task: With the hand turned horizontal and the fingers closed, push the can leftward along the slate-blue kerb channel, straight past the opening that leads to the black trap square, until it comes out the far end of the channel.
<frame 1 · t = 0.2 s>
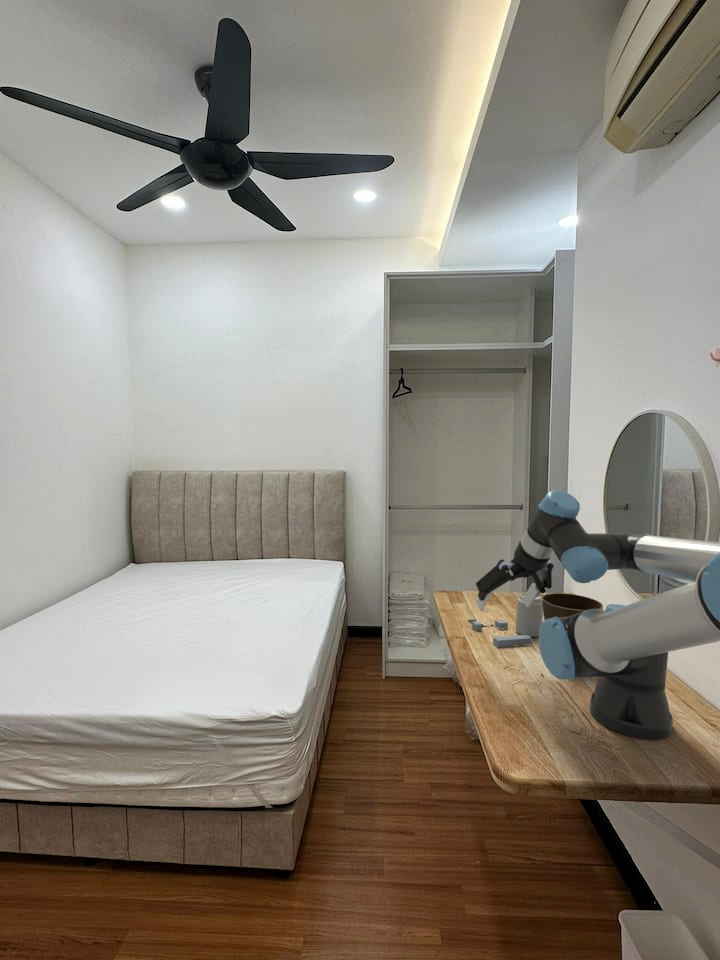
hand: (502, 604, 125), 16 cm above the table, tool tilted 35°, fingers open, 13 cm apart
trap square: (480, 623, 156), on the table
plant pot: (567, 660, 130), on the table
can: (528, 634, 148), on the table
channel: (500, 636, 145), on the table
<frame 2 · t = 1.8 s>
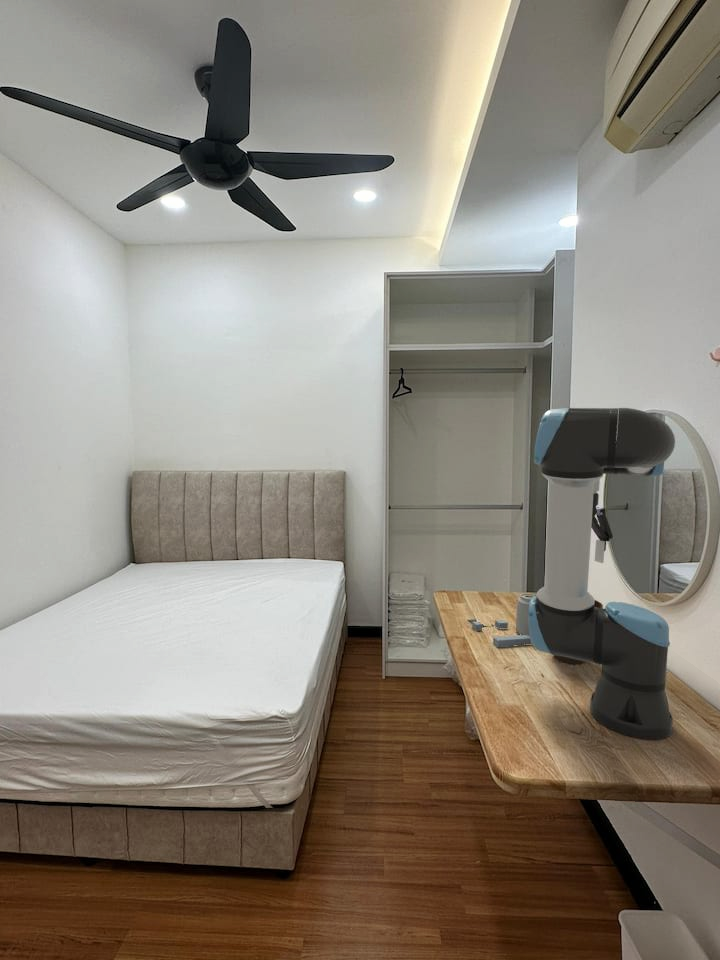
hand: (580, 562, 144), 23 cm above the table, tool pointing down, fingers open, 13 cm apart
nothing on the table moved.
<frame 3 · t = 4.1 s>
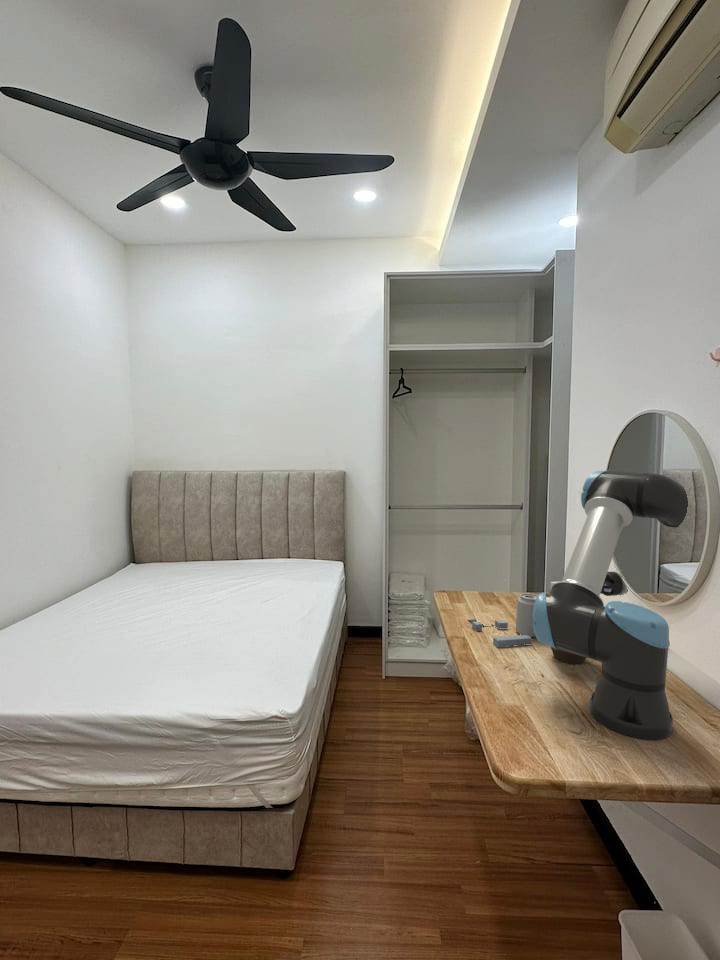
hand: (551, 586, 149), 14 cm above the table, tool horizontal, fingers closed
nothing on the table moved.
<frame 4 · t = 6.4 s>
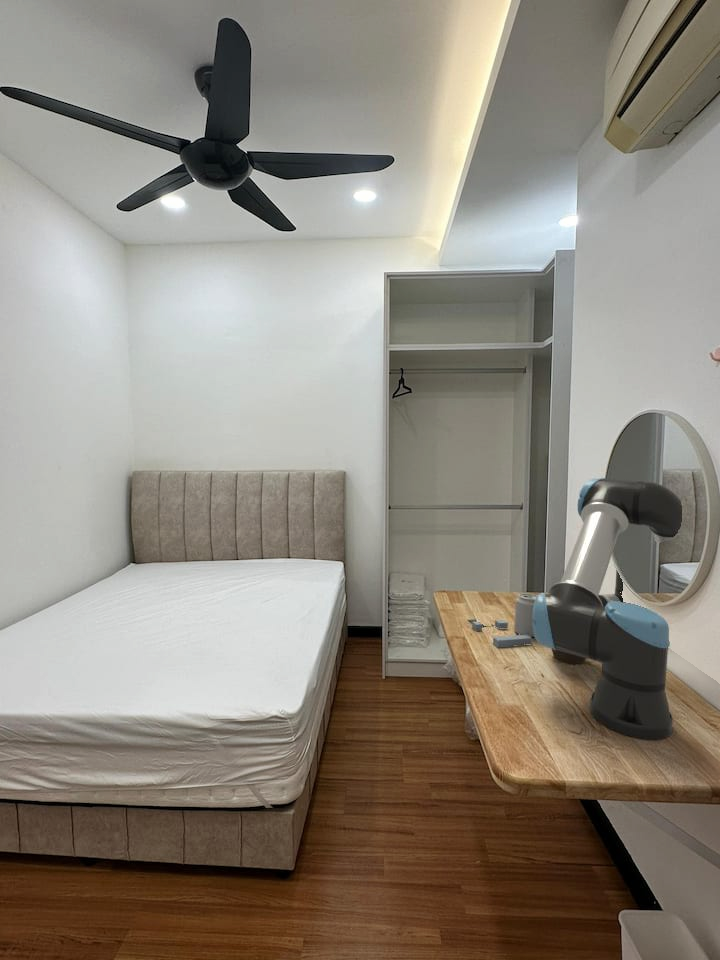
hand: (537, 610, 149), 7 cm above the table, tool horizontal, fingers closed
can: (526, 634, 148), on the table, touching gripper
everything else where it was.
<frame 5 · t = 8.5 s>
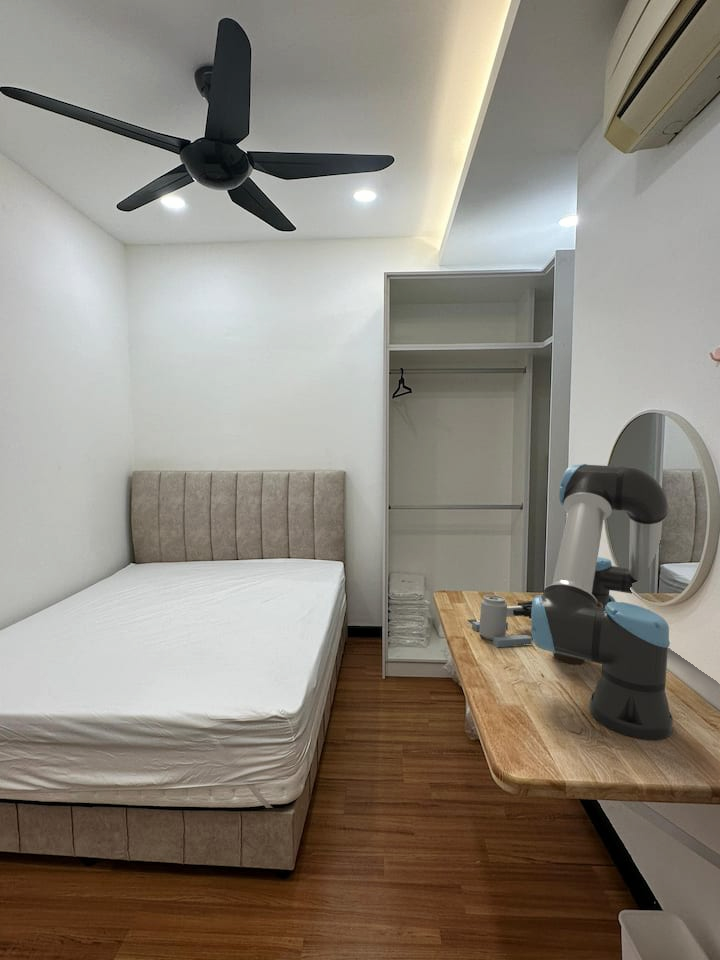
hand: (502, 611, 147), 7 cm above the table, tool horizontal, fingers closed
can: (492, 637, 145), on the table, touching gripper
everything else where it was.
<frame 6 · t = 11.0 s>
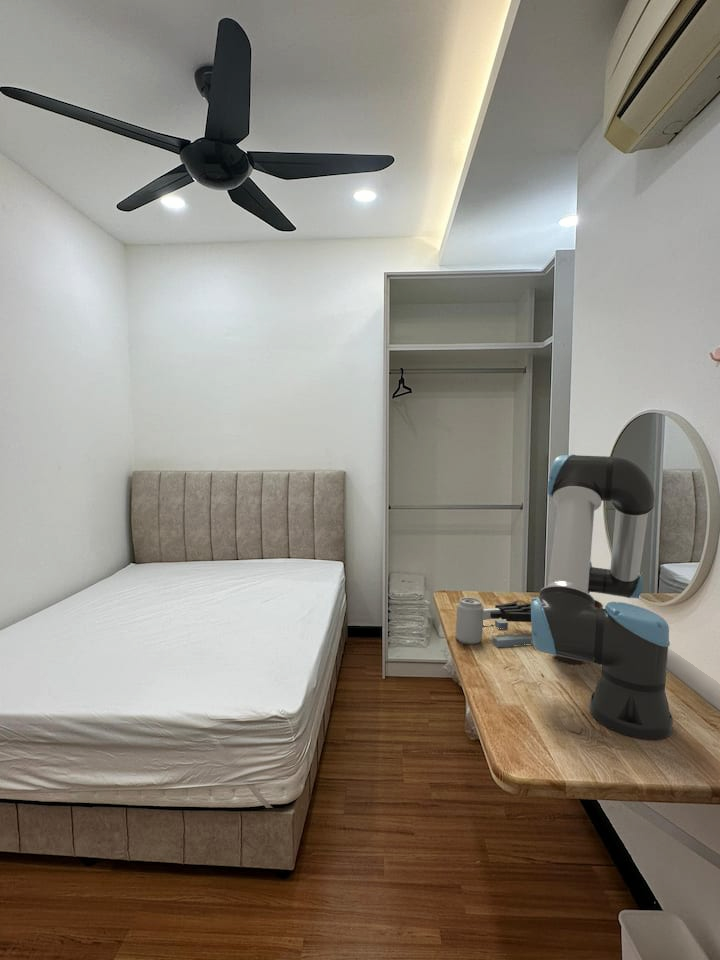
hand: (479, 614, 143), 7 cm above the table, tool horizontal, fingers closed
can: (468, 641, 141), on the table, touching gripper
everything else where it was.
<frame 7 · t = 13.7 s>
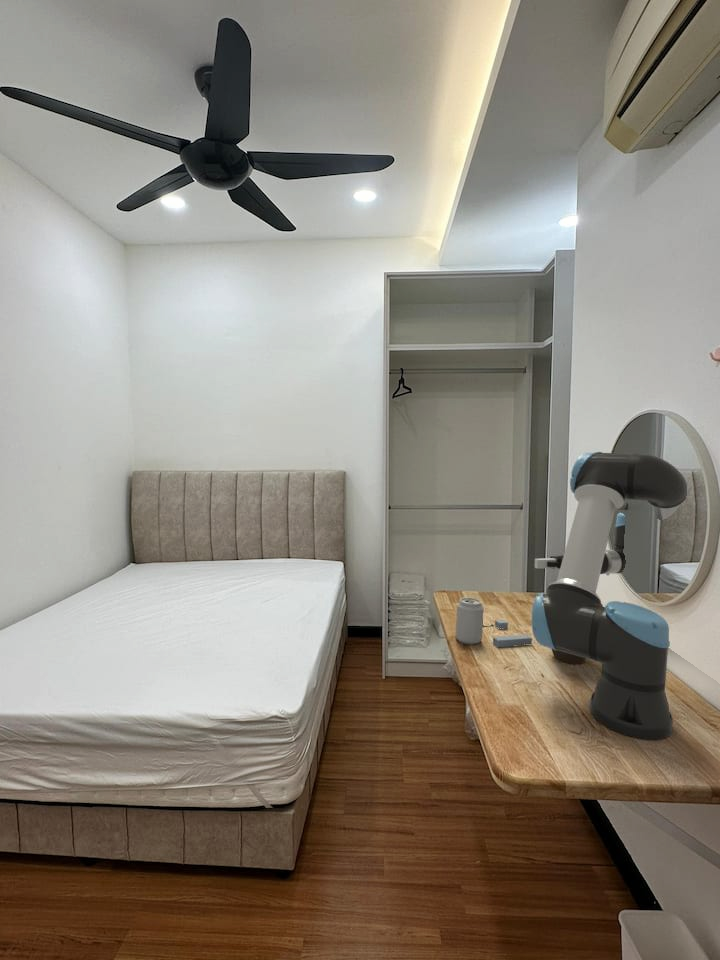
hand: (536, 563, 147), 22 cm above the table, tool horizontal, fingers closed
can: (468, 641, 141), on the table
everything else where it was.
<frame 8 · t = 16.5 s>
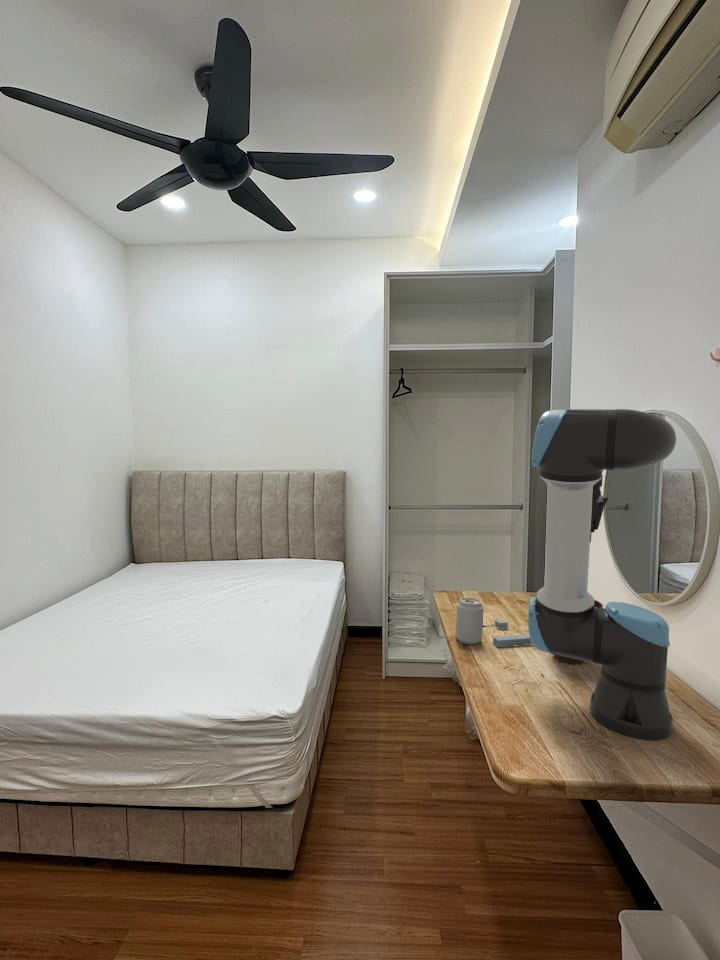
hand: (582, 553, 141), 26 cm above the table, tool pointing down, fingers closed
nothing on the table moved.
at the end: can inside the target area (1.4 cm from its centre), on the table; can tilted 0°; can touching table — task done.
